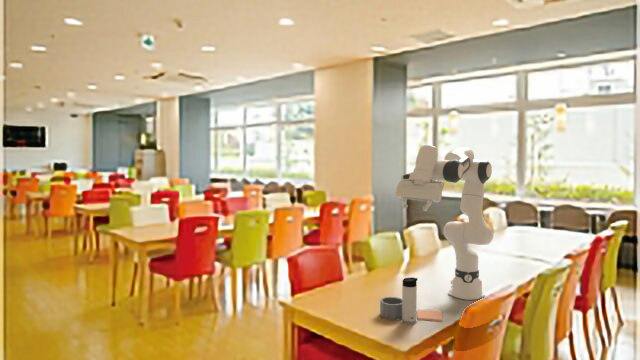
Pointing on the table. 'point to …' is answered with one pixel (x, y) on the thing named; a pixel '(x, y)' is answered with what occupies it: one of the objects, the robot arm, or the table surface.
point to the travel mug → (409, 300)
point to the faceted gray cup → (391, 308)
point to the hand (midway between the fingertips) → (414, 209)
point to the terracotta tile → (429, 315)
